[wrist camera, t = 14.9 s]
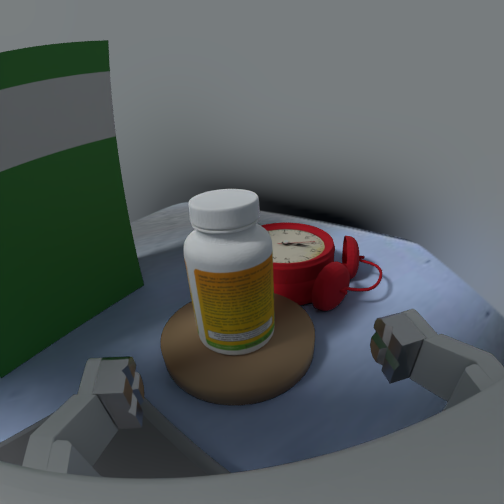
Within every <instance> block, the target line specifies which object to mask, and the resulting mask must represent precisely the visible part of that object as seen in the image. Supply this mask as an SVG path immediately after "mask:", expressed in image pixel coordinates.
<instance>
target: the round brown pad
mask: <svg viewBox="0 0 504 504" xmlns="http://www.w3.org/2000/svg"><path fill="white" fill-rule="evenodd" d="M274 316H275V317H274V332H273V335H272V337H271V339H270V340H269V341H268V342H267V343H266V344H265V345H264V346H263V347H261V348H260V349H258V350H256V351H253V352H251V353H248V354H244V355H225V354H221V353H217V352H215V351H213V350H211V349H209V348H208V347H206V346H205V345H204V344H203V342H202V341H201V339H200V337H199V334H198V330H197V326H196V321H195V316H194V310H193V305H192V301H191V302H190V303H188V304H186V305H185V306H183V307H182V308H180V309H179V310H178V311H177V312H176V313H175V314H174V315H173V316H172V317H171V318H170V319H169V320H168V322H167V323H166V325H165V327H164V329H163V332H162V335H161V341H160V342H161V351H162V355H163V358H164V361H165V364H166V367H167V370H168V372H169V374H170V376H171V377H172V379H173V380H174V382H175V383H176V384H177V385H178V386H179V387H180V388H181V389H183V390H184V391H186V392H187V393H188V394H190V395H192V396H194V397H196V398H198V399H201V400H204V401H207V402H211V403H215V404H221V405H247V404H254V403H258V402H263V401H266V400H269V399H271V398H274V397H276V396H278V395H280V394H282V393H284V392H286V391H287V390H289V389H290V388H292V387H293V386H294V385H295V384H296V383H297V382H299V381H300V380H301V378H302V377H303V376H304V375H305V374H306V372H307V370H308V369H309V367H310V364H311V362H312V358H313V353H314V342H315V330H314V325H313V322H312V320H311V318H310V317H309V315H308V314H307V312H306V311H305V310H304V309H303V308H302V307H301V306H299V305H298V304H297V303H295V302H294V301H292V300H290V299H288V298H286V297H284V296H281V295H279V294H276V293H274Z"/></svg>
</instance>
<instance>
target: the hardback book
mask: <svg viewBox="0 0 504 504" xmlns="http://www.w3.org/2000/svg"><path fill="white" fill-rule="evenodd" d="M108 48H109V47H108V40H107V41H85V42H71V43H61V44H51V45H43V46H36V47H29V48H23V49H17V50H12V51H6V52H1V53H0V377H1V378H2V377H4V376H5V375H7V374H8V373H10V372H11V371H12V370H14V369H15V368H17V367H18V366H20V365H21V364H23V363H24V362H26V361H27V360H29V359H30V358H32V357H33V356H35V355H36V354H38V353H39V352H41V351H42V350H44V349H45V348H47V347H48V346H50V345H51V344H53V343H54V342H56V341H57V340H59V339H60V338H62V337H63V336H65V335H66V334H68V333H70V332H71V331H73V330H74V329H76V328H77V327H79V326H80V325H82V324H83V323H85V322H86V321H88V320H90V319H91V318H93V317H94V316H96V315H97V314H99V313H100V312H102V311H104V310H105V309H107V308H108V307H110V306H111V305H113V304H115V303H116V302H118V301H119V300H121V299H123V298H124V297H126V296H127V295H129V294H130V293H132V292H134V291H135V290H137V289H138V288H140V287H142V286H143V285H144V283H143V279H142V275H141V270H140V266H139V262H138V258H137V253H136V249H135V244H134V240H133V235H132V230H131V225H130V220H129V215H128V210H127V205H126V199H125V194H124V188H123V182H122V175H121V169H120V163H119V156H118V149H117V141H116V133H115V125H114V115H113V105H112V95H111V82H110V67H109V50H108Z"/></svg>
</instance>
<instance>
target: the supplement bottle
mask: <svg viewBox="0 0 504 504" xmlns="http://www.w3.org/2000/svg"><path fill="white" fill-rule="evenodd" d="M189 213H190V221H191V224H192V227H193V228H194V229H195V230H194V231H193V232H191V233H190V234H189V236H188V237H187V238H186V240H185V243H184V249H183V250H184V260H185V265H186V271H187V277H188V283H189V288H190V294H191V299H192V305H193V310H194V316H195V321H196V326H197V330H198V334H199V337H200V339H201V341H202V342H203V344H204V345H205V346H206V347H208V348H209V349H211V350H213V351H215V352H217V353H221V354H225V355H244V354H248V353H251V352H253V351H256V350H258V349H260V348H261V347H263V346H264V345H265V344H266V343H267V342H268V341H269V340H270V339H271V337H272V335H273V332H274V317H275V316H274V283H273V248H272V239H271V236H270V234H269V233H268V232H267V230H266V229H265V228H263V227H262V226H260V225H259V224H257V223H258V221H259V219H260V217H259V215H260V211H259V198H258V196H257V194H256V193H254V192H252V191H248V190H241V189H222V190H214V191H209V192H205V193H202V194H199V195H197V196H195V197H193V198H191V200H190V201H189Z"/></svg>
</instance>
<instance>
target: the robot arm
mask: <svg viewBox="0 0 504 504" xmlns="http://www.w3.org/2000/svg"><path fill="white" fill-rule="evenodd" d="M374 329H375V330H376V333H375V334H374V335H373V336H372V337H371V343H370V347H371V353H372V356H373V358H374V360H375V361H376V362H377V363H379V364H381V365H383V366H382V372H383V374H384V375H385V377H386V379H387V380H388V382H389V383H393V382H397V381H400V380H403V379H406V378H409V377H410V379H411V380H413V381H415V382H416V383H418V384H419V385H421V386H423V387H424V388H426V389H427V390H429V391H431V392H432V393H434V394H436V395H437V396H439V397H441V398H442V399H444V400H445V401H447V404H446V406H445V407H444V409H443V411H442V412H440V413H438V414H436V415H434V416H432V417H429V418H427V419H425V420H423V421H420V422H418V423H416V424H413V425H411V426H408V427H406V428H404V429H401V430H398V431H396V432H393V433H391V434H388V435H385V436H383V437H380V438H377V439H374V440H371V441H368V442H365V443H362V444H359V445H356V446H353V447H350V448H346V449H343V450H340V451H336V452H333V453H329V454H325V455H322V456H318V457H314V458H310V459H306V460H301V461H297V462H293V463H288V464H283V465H278V466H273V467H268V468H262V469H256V470H250V471H243V472H236V473H228V474H220V475H210V476H198V477H183V478H155V479H137V478H109V477H102V476H101V475H100V474H99V473H98V472H97V471H96V470H95V469H94V468H93V467H92V466H93V465H94V464H95V462H96V461H97V459H98V458H99V457H100V455H101V454H102V452H103V451H104V449H105V448H106V447H107V445H108V444H109V442H110V441H111V440H112V438H113V437H114V435H115V434H116V433H117V431H118V429H125V428H142V420H143V410H142V408H141V406H140V405H141V404H142V403H143V402H144V385H143V381H142V378H141V376H140V374H139V373H137V372H136V371H135V369H136V364H135V361H134V359H133V358H132V357H105V358H89V359H88V360H87V362H86V366H85V369H84V372H83V376H82V379H81V383H80V386H79V390H78V394H75V395H72V396H71V397H70V398H69V399H68V400H67V401H66V402H65V403H64V404H63V405H62V406H61V407H60V408H59V409H58V410H57V411H55V412H54V413H53V414H52V415H51V416H50V417H49V418H48V419H47V420H46V421H45V422H44V423H43V424H42V425H41V426H40V427H39V428H38V429H36V430H35V431H34V432H33V433H32V434H31V435H30V438H29V442H28V445H27V449H26V453H25V456H24V460H23V464H22V466H20V465H15V464H11V463H7V462H2V461H0V504H504V367H503V365H502V364H501V363H500V362H499V361H498V360H497V359H496V358H495V357H494V355H493V354H491V353H488V352H486V351H483V350H481V349H478V348H476V347H473V346H471V345H468V344H466V343H463V342H461V341H458V340H456V339H453V338H451V337H448V336H446V335H443V334H439V335H438V334H437V333H436V332H435V331H434V330H433V328H432V327H431V326H430V325H429V324H428V323H427V322H426V321H425V320H424V319H423V317H422V316H421V315H420V314H419V313H418V312H417V311H416V310H414V309H411V310H407V311H403V312H401V313H396V314H393V315H389V316H385V317H381V318H377V320H376V321H375V324H374Z"/></svg>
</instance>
